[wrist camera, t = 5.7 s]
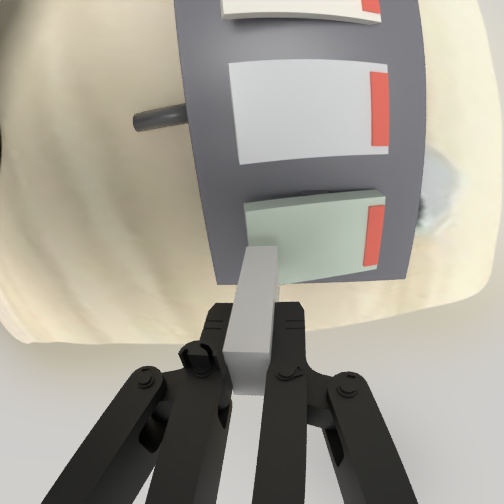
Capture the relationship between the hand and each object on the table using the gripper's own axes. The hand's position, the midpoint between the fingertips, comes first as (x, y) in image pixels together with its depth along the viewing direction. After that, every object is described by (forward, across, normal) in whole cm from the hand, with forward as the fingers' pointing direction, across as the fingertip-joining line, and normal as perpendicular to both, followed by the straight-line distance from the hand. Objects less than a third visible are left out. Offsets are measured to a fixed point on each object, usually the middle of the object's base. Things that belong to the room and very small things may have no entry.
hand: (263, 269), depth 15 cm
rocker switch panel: (+8, 0, +8) cm, 11 cm away
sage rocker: (+3, +3, 0) cm, 4 cm away
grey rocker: (+3, +3, +8) cm, 9 cm away
